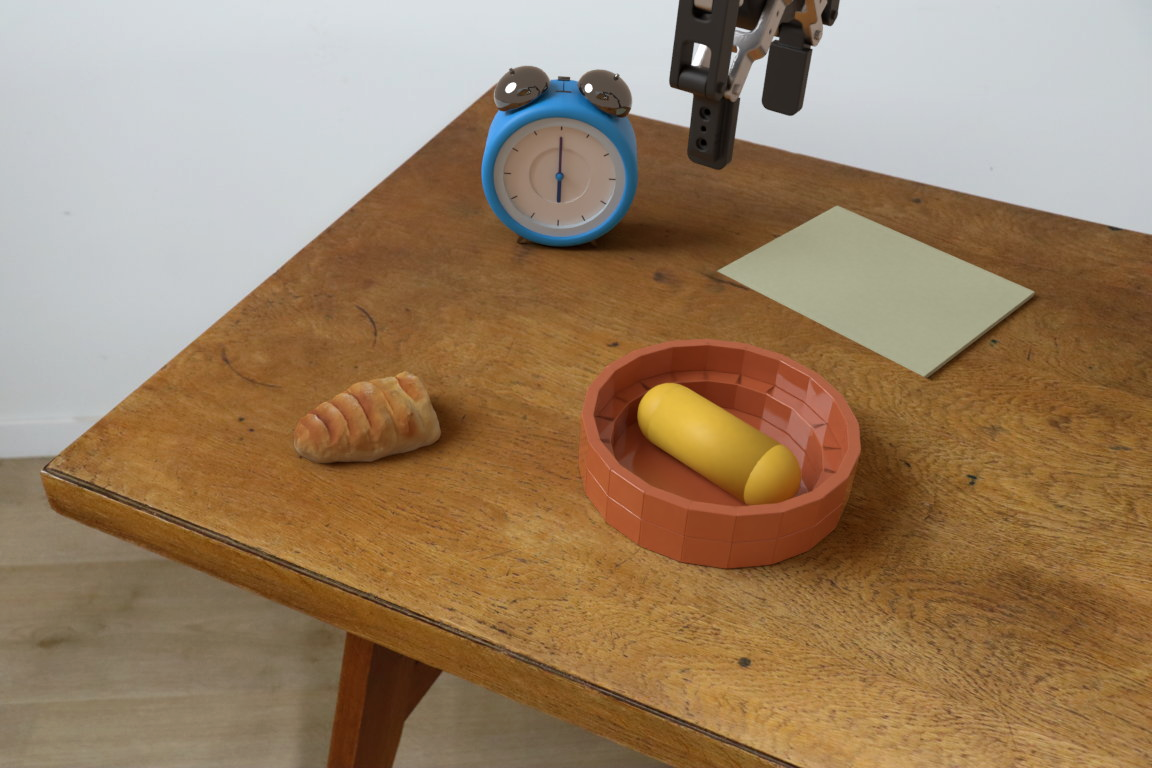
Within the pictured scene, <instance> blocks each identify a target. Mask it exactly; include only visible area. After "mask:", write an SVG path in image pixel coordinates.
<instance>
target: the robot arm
mask: <svg viewBox="0 0 1152 768" xmlns="http://www.w3.org/2000/svg"><path fill="white" fill-rule="evenodd" d="M840 1H841V0H678V6H677V12H676V13H677V14H676V22H675V28H674V29H675V30H674V36H673V37H674V38H673V46H672V54H671V61H670V70H669V78H668V83H669V86H670V88H671V89H675V90H677V91H678V90H679V91H682V92H684V93H685V92H686V93H689V94H692V104H691V113H690V123H689V131H688V138H687V139H688V140H687V149H686V151H687V152H686V155H687V157H688V159H689V161H691V162H692V163H695V164H697V165H699V166H704V167H706V168H710V169H713V170H716V171H720V170H723V169H724V168H726V167H727V166H728V165H729V164H731V163H732V161H733V155H734V148H735V140H736V133H737V126H738V120H739V119H738V117H739V112H740V111H739V110H740V103H741V97H740V96H741V93H742V92H743V91H742V90H743V88H744V86H745V83H746V80H747V78H748V76H749V73H750V71H751V69H752V66H753V63H755V61H758V60H762V59H763V58H765V57H766V56H767V62H766V67H765V74H764V81H763V87H762V95H761V105H762V106H763V108H764V109H765V110H767V111H771V112H774V113H777V114H781V115H784V116H789V117H792V116H795V115H796V114H797V113H798V112H800V111H801V110H802V109H803V106H804V101H805V95H806V90H807V84H808V79H809V73H810V68H811V61H812V55H813V50H814V49H813V48H811V47H817V46H818V45H819V44H820V41H821V40H822V37H823V32H824V26H827V27H832V26H833V25H834V24H835V23H836V20H837V18H838V16H839V9H840V3H841V2H840ZM737 28H738V29H742V30H745V31H741V30H738V29H737ZM774 37H776V38H778V39H774ZM773 39H774V40H773ZM695 44H698V48H697V50H696V52H695V55H694V50H695V49H694V48H695ZM733 53H734V54H735V56H734V58H733V61H732V64H731V59H732V54H733ZM767 54H768V55H767ZM693 56H694V57H693Z"/></svg>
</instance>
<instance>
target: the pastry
mask: <svg viewBox="0 0 1152 768" xmlns="http://www.w3.org/2000/svg"><path fill="white" fill-rule="evenodd" d="M440 427H441V426H440V422H439V419H438V416H437V412H436V411H435V409H434V407H433V404H432V401H431V397H430V394H429V392H428V390H427V388H426V387H425V384H424V383H423V381H422V380H421V378H420V377H419V376H418V375H415V374H414V373H412V372H410V371H408V370H403V371H402V372H400V373H397V374H396V375H395V376H387V377H383V378H373V379H370V380H368V381H367V380H366V381H359V382H356V383H353V384H351V385H350V386H349V387H348V388H347V389H345V390H344V391H342V392H339V393H338V394H337V395H335V396H334V397H333V398H331V399H330V400H326V401H324V402H322V403H320V404H319V405H318V406H317V407H315V408H313V409H311V410H309V412H308V413H307V414H305V415H304V416H303V417H301V418H299V420H298V423H297V425H296V427H295V430H294V435H293V440H294V441H293V444H294V448H295V450H296V452H297V453H298V454H299V455H300V456H302V457H303V458H305V459H307V460H309V461H310V462H313V463H318V464H333V463H336V462H338V463H339V462H340V463H341V462H342V463H352V462H361V463H362V462H363V463H365V462H367V463H369V462H373V461H377V460H381V459H383V458H387V457H389V456H393V455H398V454H405V453H408V452H412V451H415V450H417V449H420V448H422V447H427V446H432V445H433V444H435V443H436V442H437V441H438V440H439V439H440V437H441V435H442V431H441V428H440Z"/></svg>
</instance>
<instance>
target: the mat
mask: <svg viewBox="0 0 1152 768" xmlns="http://www.w3.org/2000/svg"><path fill="white" fill-rule="evenodd" d="M717 272H718V273H720V274H722V275H724V276H726V277H727V278H729V279H732V280H733V281H735V282H737V283H739V284H741V285H743V286H745V287H747V288H750V289H751V290H753V291H755V292H757V293H759V294H761V295H763V296H765V297H766V298H769V299H771V300H773V301H774V302H776V303H778V304H781V305H782V306H783V307H786V308H788V309H790V310H792V311H794V312H796V313H798V314H800V315H802V316H804V317H806V318H808V319H810V320H812V321H814V322H816V323H818V324H820V325H822V326H824V327H825V328H828V329H829V330H831V331H833V332H835V333H837V334H838V335H841V336H843V337H845V338H847V339H849V340H850V341H853V342H855V343H856V344H859V345H861V346H863V347H865V348H866V349H868V350H871V351H873V352H874V353H876V354H878V355H880V356H882V357H884V358H886V359H888V360H890V361H892V362H893V363H896V364H898V365H900V366H902V367H903V368H906V369H908V370H910V371H912V372H914V373H916V374H918V376H919V375H920V376H922V377H924V378H925V379H928V378H930V376H932V375H933V374H934V373H936V372H937V371H939V370H940V369H941V368H942V367H943V366H945V365H946V364H947V363H948V362H950V361H952V360H953V359H954V358H955V357H957V356H958V355H959V354H960V353H962V352H963V351H964V350H966V349H967V348H969V347H970V346H972V344H974V343H975V342H976V341H978V339H980V338H981V337H983V336H984V335H985V334H987V333H989V332H990V331H991V330H992V329H993V328H994V327H996V326H997V325H999V323H1001V322H1002V321H1003V320H1005V319H1007V317H1009V316H1010V315H1012V314H1013V313H1014V312H1015V311H1017V310H1018V309H1019V308H1021V307H1022V306H1023V305H1025V303H1027V302H1029V300H1031V299H1032V298H1033V297H1034V295H1035V293H1036V292H1035V290H1032V289H1029V288H1027V287H1025V286H1023V285H1021V284H1018V283H1016V282H1013V281H1011V280H1009V279H1006V278H1004V277H1002V276H1000V275H998V274H996V273H993V272H991V271H988V270H986V269H985V268H983V267H982V268H981V267H979V266H977V265H975V264H972V263H970V262H967V261H966V260H963V259H961V258H958V257H956V256H954V255H951V254H950V253H947V252H946V251H945V252H944V251H942V250H940V249H938V248H937V247H933V246H931V245H929V244H926V243H924V242H922V241H920V240H917V239H915V238H913V237H910V236H908V235H907V234H903V233H901V232H899V231H898V230H894V229H892V228H890V227H888V226H885V225H883V224H881V223H879V222H877V221H874V220H871V219H869V218H868V217H867V218H866V217H865V216H863V215H860V214H858V213H856V212H853V211H851V210H848V209H847V208H844V207H842V206H840V205H835V206H833V207H832V208H829V209H828V210H825V211H824V212H822V213H820V214H818V215H817V216H815V217H813V218H811V219H810V220H808V221H805V222H804V223H802V224H800V225H798V226H797V227H795V228H793V229H791V230H789V231H787V232H786V233H784V234H781V235H779V236H778V237H776V238H774V239H773V240H770V241H769V242H767V243H766V244H763V245H761V246H760V247H758V248H756V249H754V250H753V251H751V252H748V253H747V254H745V255H743V256H742V257H740V258H738V259H736V260H734V261H733V262H730V263H729V264H727V265H725V266H723V267H721V268H720V269H718V270H717Z"/></svg>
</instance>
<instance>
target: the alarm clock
mask: <svg viewBox="0 0 1152 768" xmlns="http://www.w3.org/2000/svg"><path fill="white" fill-rule="evenodd" d="M493 100H494V104H495V106H496V108H497V112H496V114H495V116H494V117H493V118H492V122H491V123H490V126H489V129H488V133H487V137H486V142H485V148H484V152H483V156H482V162H481V171H480V172H481V175H480V176H481V184H482V189H483V192H484V193H483V194H484V196H485V198H486V201H487V203H488V205H489V207H490V210H492V213H494V215H495V216H496V217H497V218H498V220H499V221H500V222H501V223H502V224H503V225H504V226H505V227H506V228H508V229H509V230H510V231H512V232H513V233H514V234H516V235H518V237H517V240H516V243H517V244H520V243H521V242H522V241H523V240H524V239H525V240H528V241H530V242H533V243H535V244H538V245H539V244H540V245H543V246H549V247H574V246H579V245H583V244H587V243H591V245H592V246H593V247H594V248H597V247H598V243H597V239H599V238H601V237H602V236H604V235H605V234H607V233H609V232H610V231H612V230H613V229H614V228H615V227H616V226H617V225H618V224H619V223H620V222H621V221H622V220H623V219H624V218H625V216H626V215H627V213H628V212H629V210H630V208H631V206H632V204H633V201H634V200H635V196H636V194H637V189H638V183H639V182H638V181H639V168H638V166H639V165H638V146H637V138H636V134H635V131H634V127H633V125H632V123H631V120H630V119H629V116H628V115H629V114H630V112H631V110H632V106H633V95H632V91H631V89H630V87H629V85H628V84H627V83H626V81H625V80H624V79H623V78H622V77H621V76H620V74H619V73H614V72H613V71H610V70H607V69H600V68H595V69H591V70H588V71H586V72H585V73H583V74H582V75H581V77H580V78H578V80H574V79H571V76H562V75H559V76H557V78H556V79H550V77H549V76H548V74H547V73H546V71H544V70H543V69H542V68H539V67H538V66H535V65H520V66H517V67H514V68H513V67H510V68H508V71H507V72H506V73H504V74H503V75H502V76H501V77H500V78H499V80H498V82H497V83H496V85H495V88H494V90H493Z"/></svg>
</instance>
